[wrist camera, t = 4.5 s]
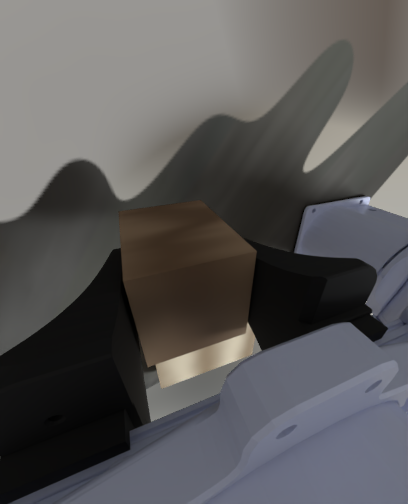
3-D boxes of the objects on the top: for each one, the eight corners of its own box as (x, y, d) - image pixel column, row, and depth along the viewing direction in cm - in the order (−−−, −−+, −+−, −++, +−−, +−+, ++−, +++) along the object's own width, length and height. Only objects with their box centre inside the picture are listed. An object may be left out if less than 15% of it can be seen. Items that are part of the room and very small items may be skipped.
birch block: (250, 269, 26) (264, 285, 24) (241, 337, 33) (251, 354, 30) (140, 297, 22) (144, 318, 20) (157, 366, 29) (161, 388, 27)
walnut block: (200, 200, 12) (256, 251, 7) (202, 263, 15) (246, 333, 10) (118, 211, 11) (123, 281, 6) (135, 279, 13) (147, 367, 9)
